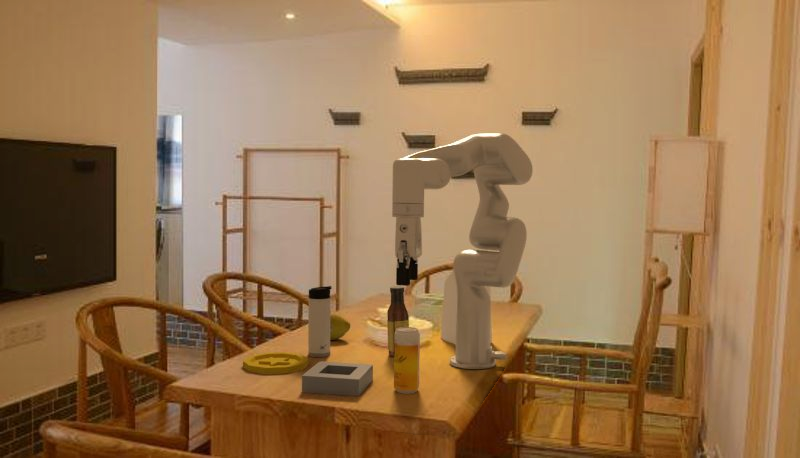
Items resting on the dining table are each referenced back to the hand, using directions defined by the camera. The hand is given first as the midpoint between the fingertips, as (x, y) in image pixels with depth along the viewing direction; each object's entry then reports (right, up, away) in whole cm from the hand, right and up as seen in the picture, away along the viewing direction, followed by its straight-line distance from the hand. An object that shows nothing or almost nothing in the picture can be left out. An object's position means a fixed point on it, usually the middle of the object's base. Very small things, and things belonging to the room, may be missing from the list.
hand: (407, 282), depth 174 cm
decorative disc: (-35, -25, +24) cm, 50 cm away
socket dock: (-17, -26, +5) cm, 31 cm away
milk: (+19, -23, +57) cm, 64 cm away
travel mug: (-25, -24, +36) cm, 50 cm away
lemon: (-23, -22, +56) cm, 65 cm away
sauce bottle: (-2, -24, +37) cm, 44 cm away
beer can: (0, -26, +2) cm, 27 cm away
